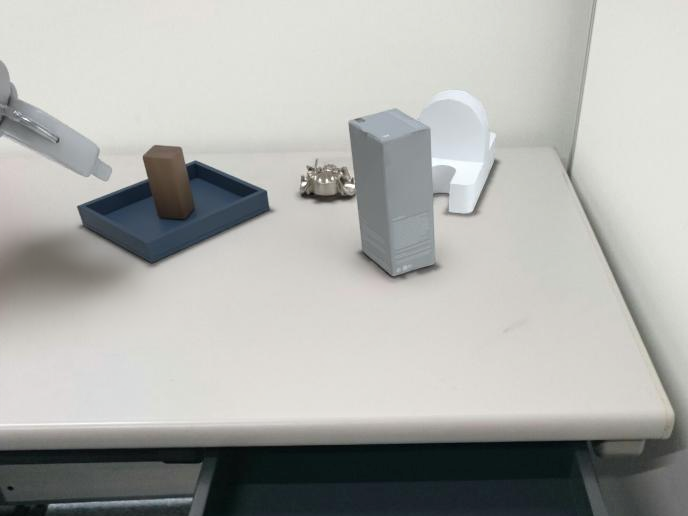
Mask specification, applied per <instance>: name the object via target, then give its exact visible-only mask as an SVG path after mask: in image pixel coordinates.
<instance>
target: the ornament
mask: <svg viewBox="0 0 688 516" xmlns="http://www.w3.org/2000/svg"><path fill="white" fill-rule="evenodd" d="M305 168H306V170H307V172H306V176H305V175H304V174H301V176H300V185H299V190H298V191H299V194H304V193H306V194H307V195H311V194H312V193H313V194H315V195H318V196H333V195H336V194H339V195H340V196H341V197H347V196H349V197H351V196H353V195H354V194H356V187H355V178H354V176H352V177H351V175H350V173H349V170H348V167H347V166H342V167H337V166H336V165H335V164H332V163H328V164H324V165H323V167H322V166H316V167H315V166H311V165H308V164H307V165H306V166H305Z"/></svg>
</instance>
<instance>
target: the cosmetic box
mask: <svg viewBox="0 0 688 516" xmlns="http://www.w3.org/2000/svg"><path fill="white" fill-rule="evenodd" d="M348 132H349V142H350V151H351V160H352V168H353V177H354V178H355V187H356V189H355V195H356V196H355V197H356V204H357V213H358V223H359V230H360V231H359V233H360V241H361V252H362V253H364V254H365V255H366V256H368V257H369V259H371V260H372V261H373V262H375V263H376V264H377V265H378V266H379V267H381V269H383V270H384V271H385V272H386V273H388V274H389V275H390V276H392V277H396V276H399V275H400V276H401V275H403V274H405V273H409V272H411V271H415V270H418V269H422V268H425V267H429V266H433V265H435V264H436V242H435V239H436V238H435V215H434V212H435V211H434V194H433V184H432V157H431V128H430V127H428V126H426V125H424V124H423V123H421V122H419V121H417V119H415V118H413V117H412V116H410V115H408V114H407V113H405V112H402V110H400V109H398V108H397V107H395V108H391V109H386V110H383V111H379V112H376V113H373V114H368V115H365V116H361V117H357V118H353V119H349V120H348Z"/></svg>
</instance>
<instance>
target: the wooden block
mask: <svg viewBox="0 0 688 516" xmlns="http://www.w3.org/2000/svg"><path fill="white" fill-rule="evenodd" d="M142 161H143V166H144V169H145V172H146V178H147V179H148V181H149V184H150V188H151V192H152V196H153V200H154V203H155V207H156V211H157V215H158V217H160V218H170V219H182V220H183V219H186V218H187V216H188V215H189V214H190V213H191V212H192V210H193V209H194V207H195V204H194V200H193V195H192V191H191V187H190V182H189V178H188V173H187V169H186V164H187V163H186V160H185V156H184V152H183V148H182V147H181V146H175V145H161V144H154V145H152V146H151V147H150V148H149V149H148V150H147V151H146V152H145V153H144V154H143V155H142Z"/></svg>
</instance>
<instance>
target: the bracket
mask: <svg viewBox="0 0 688 516" xmlns="http://www.w3.org/2000/svg"><path fill="white" fill-rule="evenodd" d="M416 120H417V121H419V122H421V123H423V124H424V125H426V126H428V127H430V128H431V157H432V184H433V195H434V194H440V193H441V194H448V195H449V197H448V213H454V214H455V213H456V214H464V215H465V214H471V213H473V211H474V209H475V207H476V205H477V203H478V200H479V198H480V195H481V193H482V191H483V188H484V186H485V184H486V182H487V179H488V177H489V174H490V172H491V170H492V167H493V165H494V162H495V154H496V153H495V151H496V140H497V134H496V133H495V132H493V131H490V130H491V127H490V125H491V123H490V120H489V116H488V113H487V111H486V109H485V108H484V106H483V104H482V103H481V101H480V100H478V98H476V97H475V96H474V95H472V94H470V93H469V92H467V91H465V90H460V89H446V90H443V91H441V92H438V93H437V94H435V95H434V96H433V97H431V99H429V100H428V102H427V103H426V105H425V106H424V108H423V109H422V111H421V112H420V114H419V115H418V117H417V118H416Z"/></svg>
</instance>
